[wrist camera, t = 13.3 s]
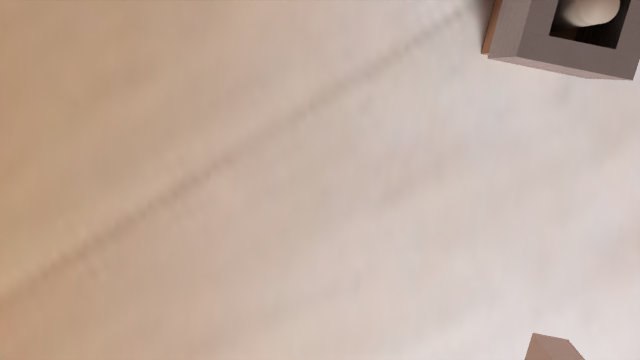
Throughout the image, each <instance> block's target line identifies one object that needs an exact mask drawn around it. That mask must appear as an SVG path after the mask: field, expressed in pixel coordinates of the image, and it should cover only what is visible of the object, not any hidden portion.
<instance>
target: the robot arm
mask: <svg viewBox="0 0 640 360" xmlns="http://www.w3.org/2000/svg"><path fill="white" fill-rule="evenodd" d="M525 360H585V359H584V358H583V357H582V356H581V355H580V353H579V352H578V351H577V350H576V349H575V347H574V346H573V345H572V344H571V343H570V342H569V340H566V339H561V338H556V337H551V336H546V335H541V334H536V333H533V334H532V338H531V341H530V344H529V347H528V351H527V354H526V357H525Z"/></svg>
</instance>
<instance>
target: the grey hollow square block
mask: <svg viewBox="0 0 640 360" xmlns="http://www.w3.org/2000/svg"><path fill="white" fill-rule="evenodd" d="M557 4H558V0H503V1H502V5H501V8H500V12H499V16H498V20H497V24H496V28H495V32H494V35H493V39H492V43H491V47H490V51H489V55H488V59H493V60H498V61H503V62H508V63H513V64H517V65H522V66H527V67H532V68H537V69H542V70H547V71H552V72H557V73H562V74H567V75H572V76H576V77H581V78H589V79H611V80H633V78H634V75H635V72H636V69H637V66H638V63H639V59H640V0H620V6H619V10H618V12H617V14H616V15H615V16H614V18H613V19H611V20H610V21H608V22H606V23H602V24H596V25H590V26H584V27H578V30H577V33H576V37H575V40H574V41H572V40H567V39H562V38H557V37H552V36H549V32H550V29H551V25H552V22H553V18H554V15H555V11H556V7H557Z"/></svg>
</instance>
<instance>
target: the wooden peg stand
mask: <svg viewBox="0 0 640 360" xmlns="http://www.w3.org/2000/svg"><path fill="white" fill-rule="evenodd" d="M502 1H503V0H495V1H494V5H493V9H492V13H491V17H490V21H489V25H488V29H487V33H486V37H485V41H484V45H483V49H482V53H481V54H484V55H489V51H490V47H491V43H492V39H493V35H494V32H495V28H496V24H497V20H498V16H499V12H500V8H501V5H502ZM619 6H620V0H558V4H557V7H556V11H555V15H554V18H553V22H552V25H551V29H550V32H549V36H552V37H557V38H562V39H567V40H572V41H574V40H575V37H576V33H577V30H578V27H584V26H590V25H596V24H602V23H606V22H608V21H610V20H611V19H613V18H614V16H615V15H616V14H617V12H618V10H619Z"/></svg>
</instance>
